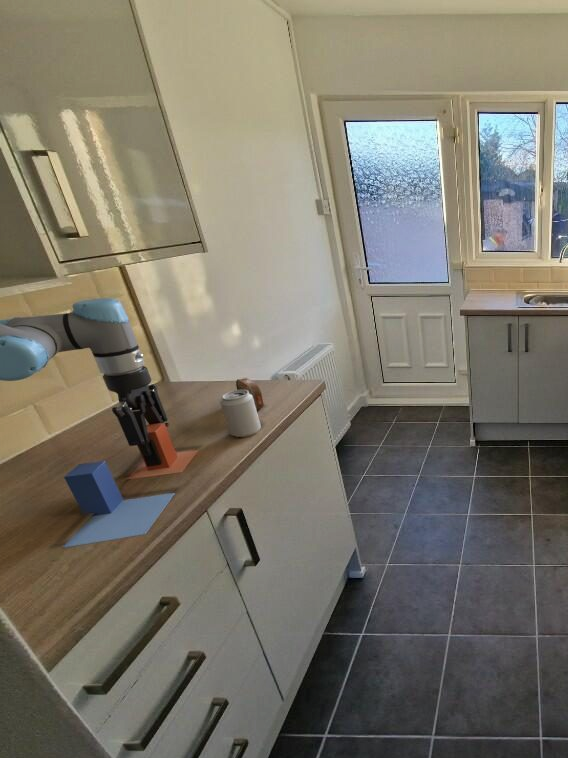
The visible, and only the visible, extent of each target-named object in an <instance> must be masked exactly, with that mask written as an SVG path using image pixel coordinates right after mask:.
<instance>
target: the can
mask: <svg viewBox="0 0 568 758" xmlns="http://www.w3.org/2000/svg"><path fill="white" fill-rule="evenodd" d="M220 406H221V409H222V412H223V415H224V418H225V421H226V425H227V428H228V431H229V435H231V436H232V437H235V436H236V437H235V438H238V437H242V438H247V437H246V436H248V437H251V436H253V435H256V434H257V433H258V432H259V430H260V429H261V427H262V425H261V421H260V417H259V414H258V410H256V407H255V403H254V399H253V396H252V395H251V394H249V391H247V390H237V389H235V390H231V391H228V392H226V393H224V394H223V395H222V396H221V401H220ZM256 432H257V433H256ZM252 434H253V435H252ZM250 435H251V436H250Z"/></svg>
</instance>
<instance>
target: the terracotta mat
mask: <svg viewBox="0 0 568 758" xmlns="http://www.w3.org/2000/svg"><path fill="white" fill-rule="evenodd" d="M199 451H200V449H195V450H186V451H185V450H184V451H179V452H178V451H177V452H176V454H177V457H178V458H177V459H176V460H175V461H174V463H173V464H172V465H171V466H170V467H169V468H162V469H155V470H147V467H146V465H145V463H144V460H143V461H142V462H141V463H140V464H139V465H138V466H137V468H136V469H135V470H134V471H133V472H131V474H130V475H129V476H128V477H127V478H126V481H127V480H133V479H141V478H147V477H157V476H164V475H170V474H179V473H182V472H184V471H185V469H186V468H187V466H188V465H189V464H190V462H191V461H192V460H193V459H194V457H195V456H196V455H197V453H198V452H199Z"/></svg>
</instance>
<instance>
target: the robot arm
mask: <svg viewBox="0 0 568 758" xmlns="http://www.w3.org/2000/svg"><path fill="white" fill-rule="evenodd" d="M84 349H89V350H90V351H91V354H92V356H93V358H94V361H95V363H96V365H97V368H98V370H99V373H101V374H103V375H102V379H103V381H104V383H105V386H106V388H107V390H108V391H109V392H113V393H115V394H117V401H118V403H119V404H118V406H113V407H112V409H111V411H112V413H113V414H114V415H115V417H116V419H117V420H118V422H119V426H120V427H121V430H122V432H123V434H124V436H125V437H124V438H125V439H126V442H127V444H128V446H129V447H135V446H137V445H138V446H139V449H140V451H141V453H142V455H143V458H144V460H145V462H146V465H147V467H148V466H156V465H161V464H162V461H161V459H160V456H159V454H158V451H157V449H156V447H155V444H154V442H153V440H150V439H149V435H148V430H147V426H146V425H147V423H148V425H149V424H158V423H165V426H166V428H169V422H168V420H169V419H168V417H167V414H166V411H165V409H164V406H163V403H162V400H161V399H160V396H159V392H158V386H157V384H156V383H151V382H152V378H151V375H150V372H149V369H148V367H147V366H145V365H146V362H145V360H144V354H143V353H142V352H141V350H140V346H139V344H138V341H137V339H136V336H135V333H134V330H133V328H132V325H131V322H130V318H129V317H128V316H127V313H126V311H125V309H124V307H123V304H122V303H121V302H120V301H119V300H118V299H115V298H109V297H104V298H103V297H102V298H93V299H84V300H79V301H76V302H74V303H73V304H72V311H71V312H66V313H58V314H57V313H55V314H47V315H34V316H23V317H21V316H18V317H17V316H15V317H13V318H7V319H0V381H1V382H2V381H3V382H14V381H15V382H16V381H21V380H24V379H27V378H29V377H31V376H33V375H35V374H36V373H39V372H40V371H41V370H43V368H45V367H46V366H47V365H48V363H49V362H50V360H51V359H53V358H54V357H55V356H56V355H57V354H58V353H63V352H70V351H79V350H84ZM138 446H137V447H138ZM139 449H138V450H139ZM140 451H139V452H140ZM141 453H140V454H141ZM143 458H142V459H143ZM144 460H143V461H144Z"/></svg>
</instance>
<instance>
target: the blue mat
mask: <svg viewBox="0 0 568 758" xmlns="http://www.w3.org/2000/svg"><path fill="white" fill-rule="evenodd" d="M175 494H176V492H171V493H163V494H157V495H150V496H143V497H137V498H130V499H123V501H122V502H121V503H120V504H119V505H118V506H117V507H116V508H115V510H114V511H113V512H112V513H109V514H103V515H96V516H92V515H91V516H90V517H89V518H88V519H87V520H86V521H85V523H84V524H82V526H81V527H80V528H79V529H78V530H77V531H76V532H75V533H74V534H73V535H72V537H71V538H69V540H68V541H67V542H66V543H65V544H64V545H63V546H62V547H61V549H66V548H71V547H78V546H84V545H89V544H95V543H101V542H108V541H114V540H119V539H126V538H127V539H128V538H131V537H133V538H134V537H139V536H144V535H146V534H147V533H148V531H149V530H150V529H151V527H152V526H153V525H154V523H155V522H156V520H157V519H158V518H159V516H160V514H162V512H163V511H164V509H166V506H167V505H169V502H170V501H171V500H172V499H173V497H174V496H175Z"/></svg>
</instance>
